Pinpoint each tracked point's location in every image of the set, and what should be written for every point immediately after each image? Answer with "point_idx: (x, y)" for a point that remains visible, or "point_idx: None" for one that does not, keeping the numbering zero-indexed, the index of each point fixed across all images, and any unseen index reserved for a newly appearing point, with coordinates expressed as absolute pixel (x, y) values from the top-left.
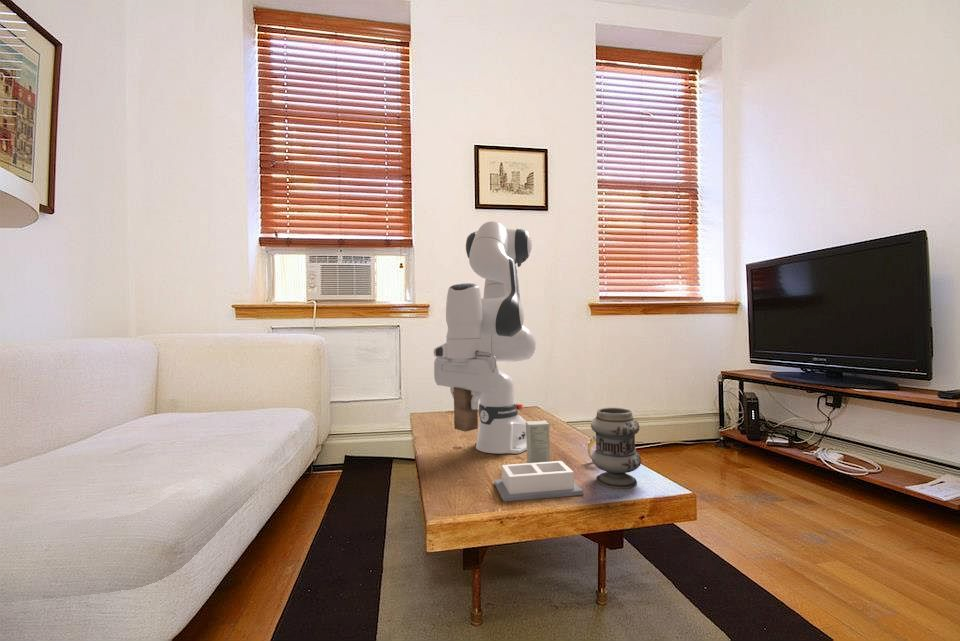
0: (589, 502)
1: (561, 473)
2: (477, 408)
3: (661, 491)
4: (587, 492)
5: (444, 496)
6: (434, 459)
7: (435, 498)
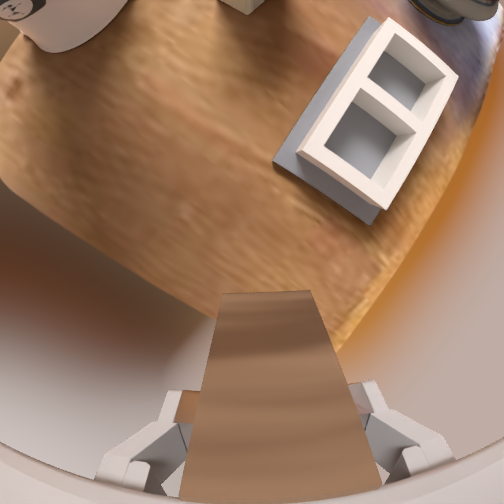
0: (469, 110)
1: (448, 98)
2: (371, 381)
3: None
4: None
5: None
6: (36, 178)
7: None
